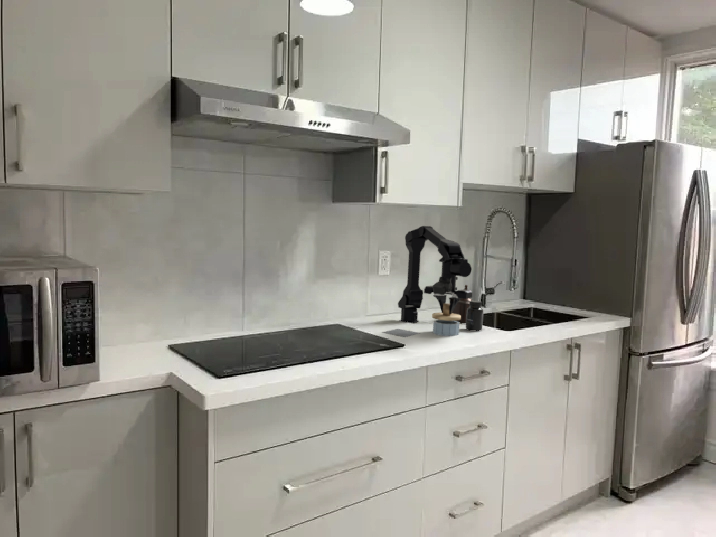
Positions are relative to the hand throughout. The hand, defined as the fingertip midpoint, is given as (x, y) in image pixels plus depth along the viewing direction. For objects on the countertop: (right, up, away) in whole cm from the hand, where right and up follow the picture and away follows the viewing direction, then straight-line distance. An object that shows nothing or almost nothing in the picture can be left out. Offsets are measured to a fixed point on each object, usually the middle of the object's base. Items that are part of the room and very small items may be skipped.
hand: (446, 313), depth 216 cm
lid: (0, -2, 0) cm, 2 cm away
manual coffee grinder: (+11, -6, +32) cm, 34 cm away
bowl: (0, -8, +1) cm, 8 cm away
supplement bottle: (+13, -8, +13) cm, 20 cm away
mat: (-18, -8, -2) cm, 20 cm away
